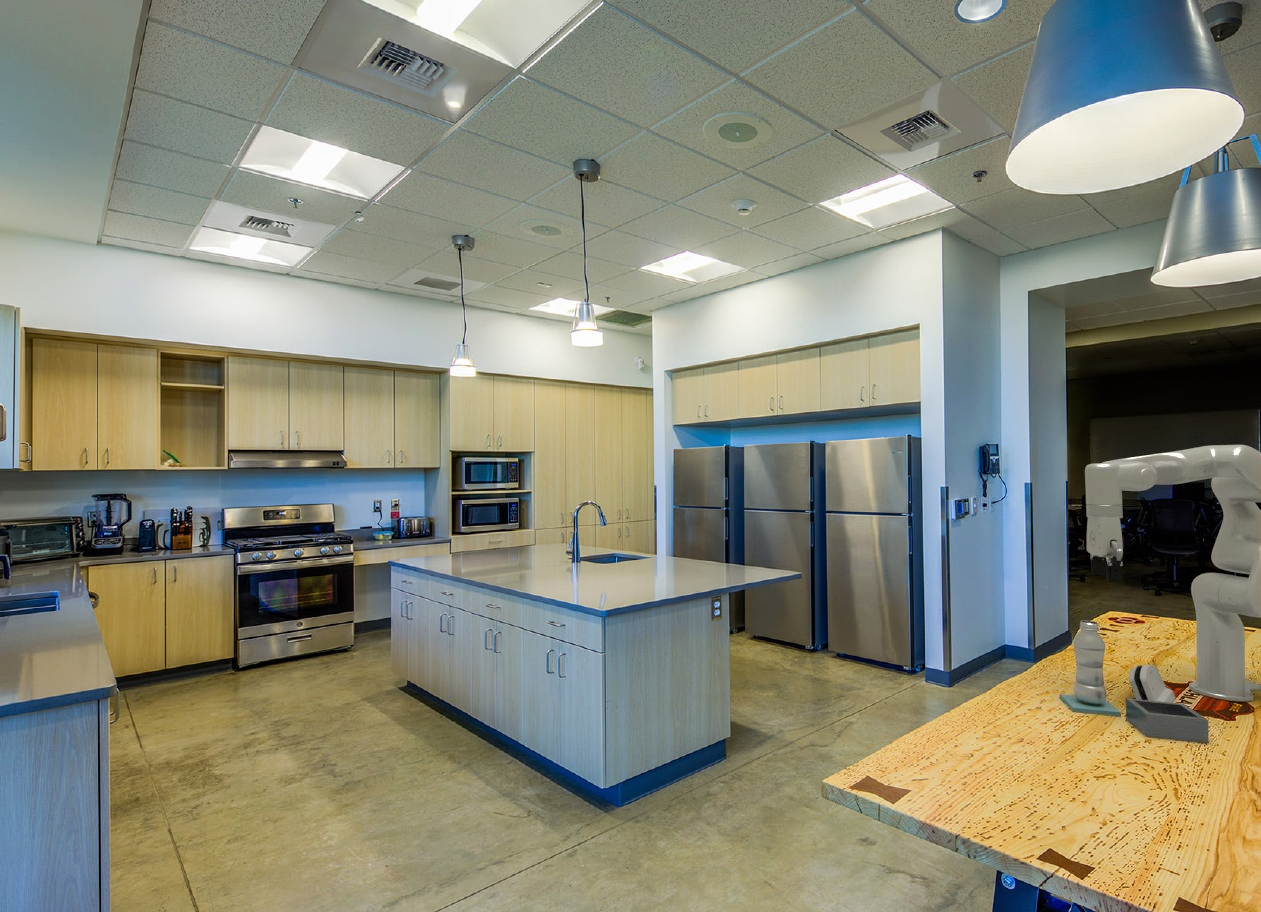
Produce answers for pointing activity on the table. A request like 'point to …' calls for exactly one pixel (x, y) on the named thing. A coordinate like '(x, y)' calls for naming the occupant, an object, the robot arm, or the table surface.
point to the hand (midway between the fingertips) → (1106, 578)
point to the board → (1089, 706)
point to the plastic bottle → (1089, 664)
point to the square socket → (1167, 720)
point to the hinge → (1149, 684)
